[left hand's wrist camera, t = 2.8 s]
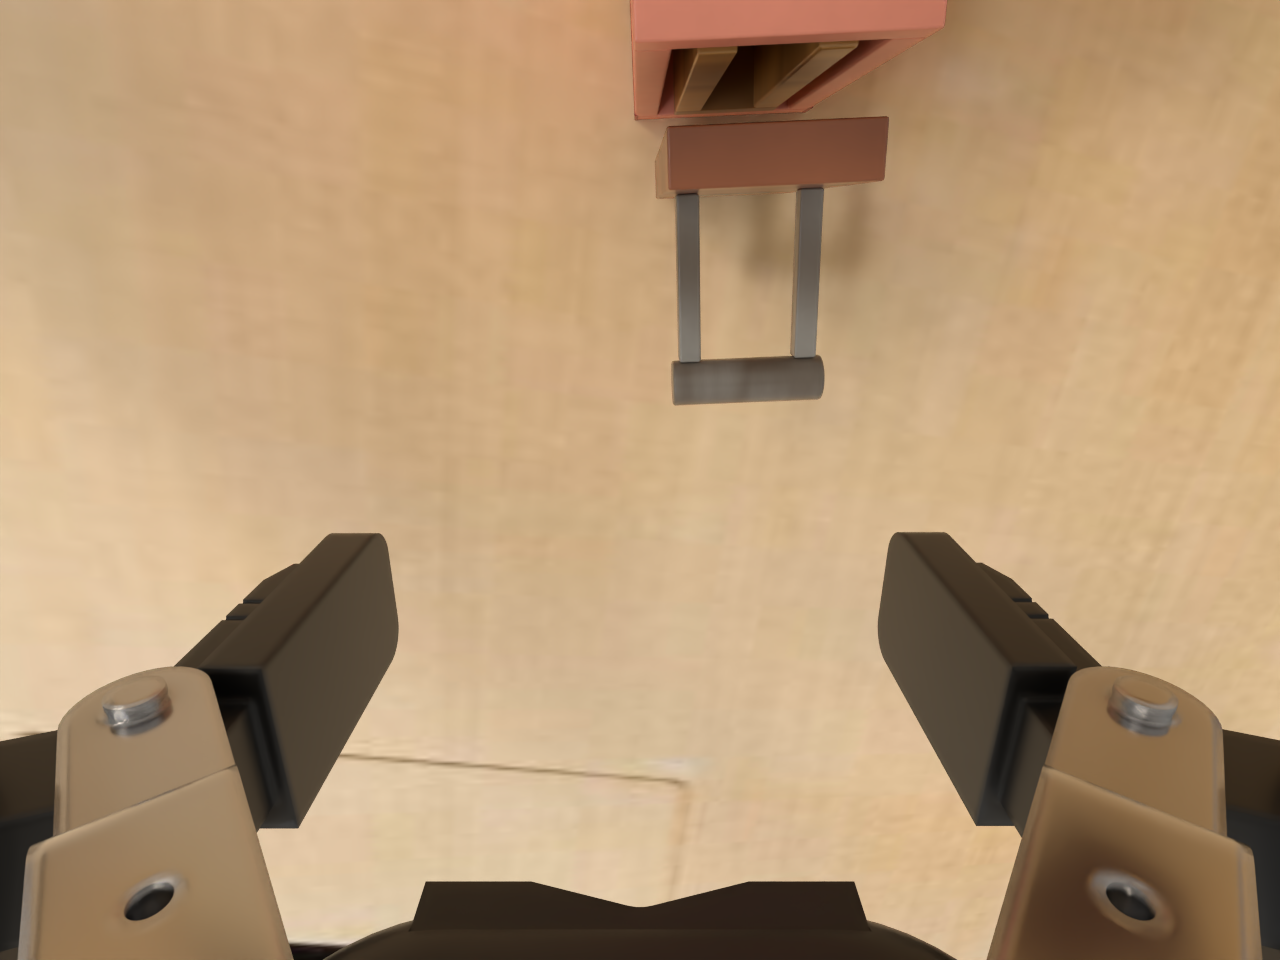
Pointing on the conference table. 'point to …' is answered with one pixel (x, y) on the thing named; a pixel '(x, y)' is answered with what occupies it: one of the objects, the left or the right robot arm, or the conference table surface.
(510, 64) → the conference table surface
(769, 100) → the drawer
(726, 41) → the cabinet
